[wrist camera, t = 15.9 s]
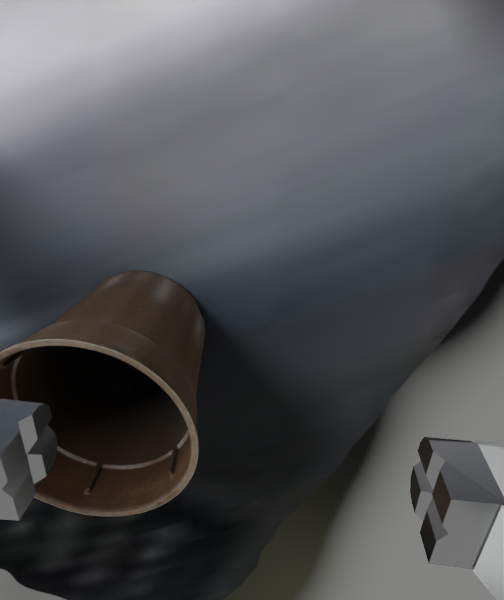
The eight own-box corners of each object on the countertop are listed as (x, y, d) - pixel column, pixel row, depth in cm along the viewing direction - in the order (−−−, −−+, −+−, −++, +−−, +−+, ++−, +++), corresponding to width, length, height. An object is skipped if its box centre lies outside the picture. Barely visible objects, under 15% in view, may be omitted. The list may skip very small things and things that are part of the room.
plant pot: (247, 278, 42) (223, 383, 28) (207, 404, 50) (172, 539, 35) (78, 227, 41) (-36, 309, 27) (63, 364, 49) (-33, 485, 34)
